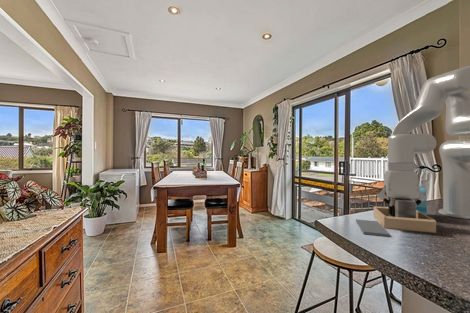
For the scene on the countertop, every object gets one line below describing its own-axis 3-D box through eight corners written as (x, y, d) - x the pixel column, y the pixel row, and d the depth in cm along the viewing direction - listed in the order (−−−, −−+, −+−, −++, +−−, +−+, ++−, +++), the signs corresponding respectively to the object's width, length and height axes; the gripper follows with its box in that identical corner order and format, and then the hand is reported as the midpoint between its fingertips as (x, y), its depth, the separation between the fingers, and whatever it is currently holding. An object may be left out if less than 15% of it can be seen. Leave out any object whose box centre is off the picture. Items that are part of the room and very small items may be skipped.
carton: (414, 218, 83) (414, 208, 83) (439, 234, 66) (439, 222, 66) (372, 215, 88) (372, 206, 88) (386, 229, 71) (385, 218, 72)
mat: (377, 223, 78) (377, 221, 78) (389, 236, 65) (389, 234, 65) (355, 221, 81) (355, 219, 81) (363, 234, 68) (363, 231, 68)
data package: (427, 220, 80) (425, 189, 81) (411, 219, 83) (410, 188, 84) (425, 214, 90) (424, 186, 90) (411, 212, 93) (410, 185, 93)
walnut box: (404, 219, 81) (404, 196, 81) (416, 228, 72) (415, 201, 72) (389, 218, 83) (388, 195, 83) (398, 226, 74) (398, 201, 74)
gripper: (424, 167, 78) (425, 216, 78) (371, 167, 84) (372, 212, 84) (435, 168, 71) (436, 222, 71) (376, 168, 77) (377, 217, 77)
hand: (401, 216), depth 78 cm, fingers closed on walnut box, 5 cm apart
